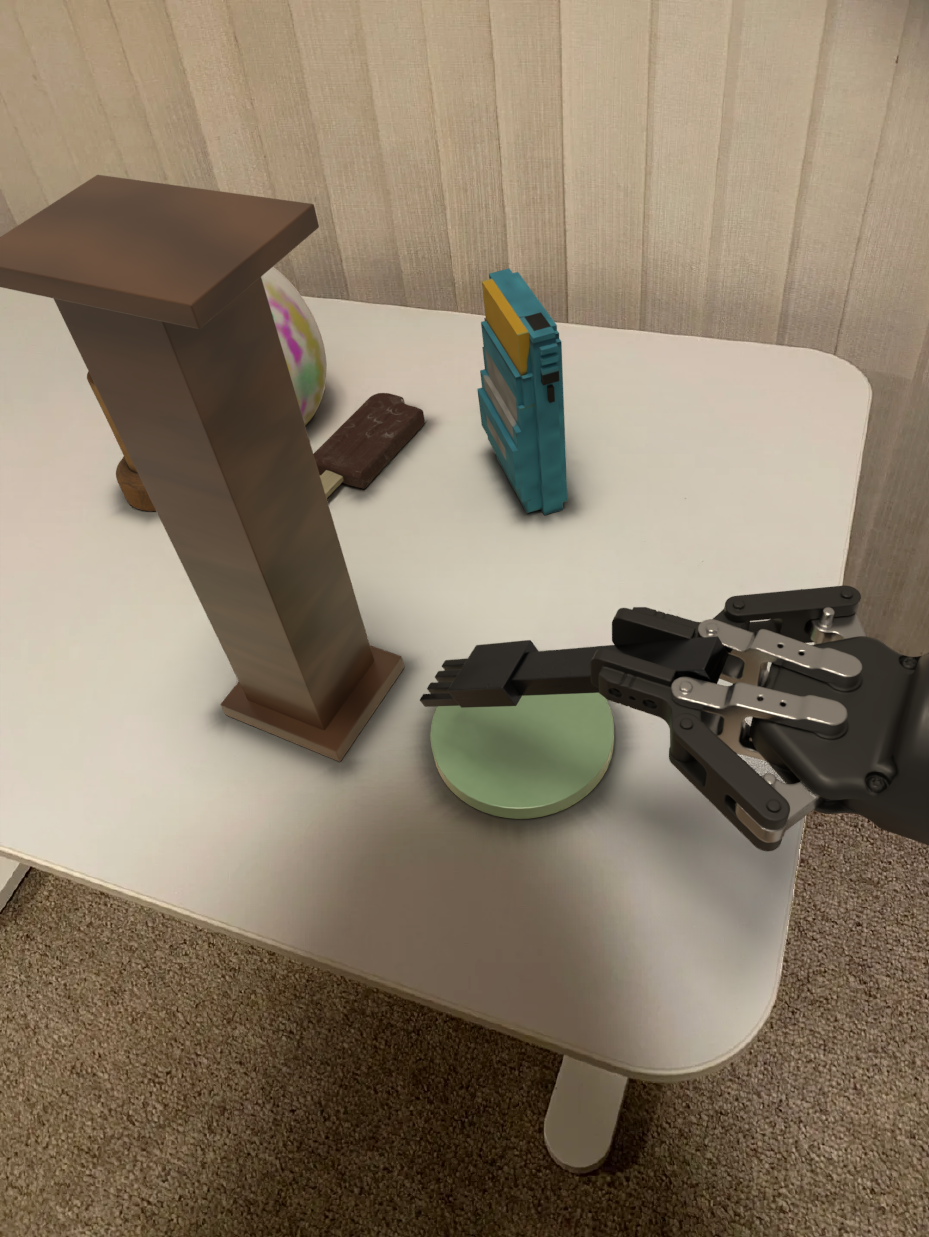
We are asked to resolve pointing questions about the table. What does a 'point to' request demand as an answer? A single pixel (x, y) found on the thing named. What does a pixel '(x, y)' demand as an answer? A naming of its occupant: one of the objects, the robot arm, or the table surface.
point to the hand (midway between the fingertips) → (605, 646)
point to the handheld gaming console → (523, 392)
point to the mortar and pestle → (125, 466)
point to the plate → (524, 752)
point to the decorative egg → (298, 341)
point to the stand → (215, 431)
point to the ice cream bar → (367, 442)
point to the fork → (557, 670)
